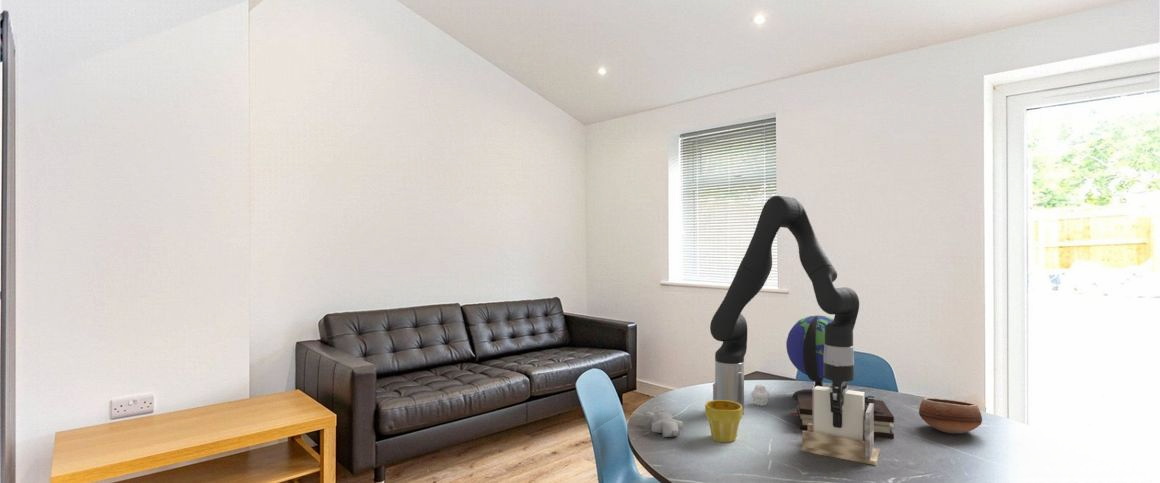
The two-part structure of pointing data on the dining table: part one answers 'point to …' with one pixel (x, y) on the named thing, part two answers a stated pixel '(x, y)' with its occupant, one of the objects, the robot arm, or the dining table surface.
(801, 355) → the globe
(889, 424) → the decorative book
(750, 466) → the dining table surface
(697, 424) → the dining table surface
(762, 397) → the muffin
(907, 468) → the dining table surface
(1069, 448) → the dining table surface
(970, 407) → the bowl
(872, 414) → the book rack
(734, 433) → the plant pot
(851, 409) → the slim book
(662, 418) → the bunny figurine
